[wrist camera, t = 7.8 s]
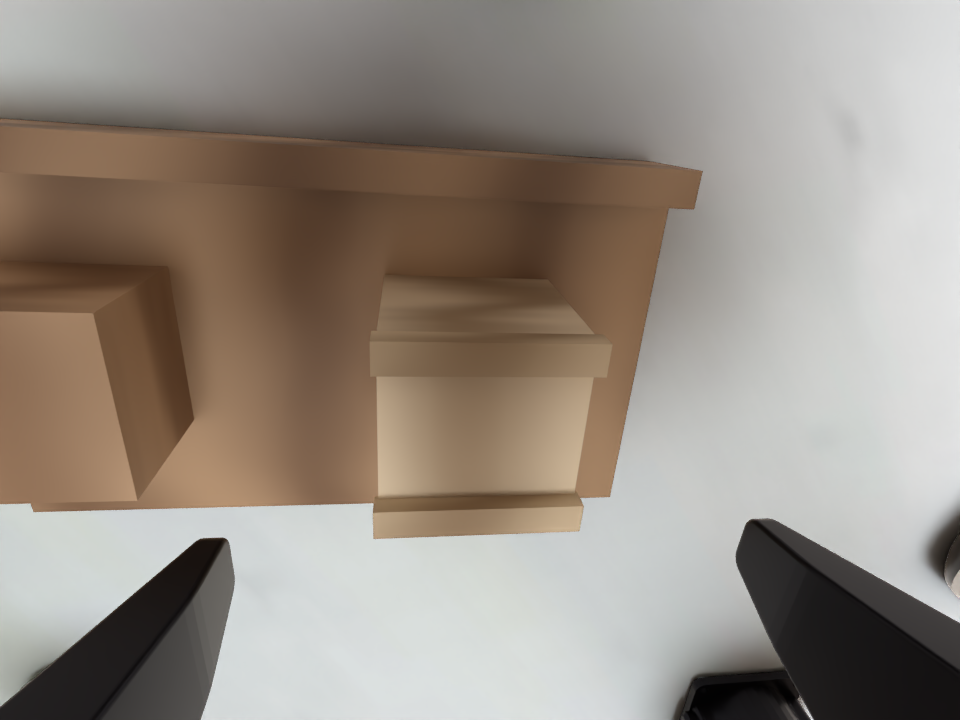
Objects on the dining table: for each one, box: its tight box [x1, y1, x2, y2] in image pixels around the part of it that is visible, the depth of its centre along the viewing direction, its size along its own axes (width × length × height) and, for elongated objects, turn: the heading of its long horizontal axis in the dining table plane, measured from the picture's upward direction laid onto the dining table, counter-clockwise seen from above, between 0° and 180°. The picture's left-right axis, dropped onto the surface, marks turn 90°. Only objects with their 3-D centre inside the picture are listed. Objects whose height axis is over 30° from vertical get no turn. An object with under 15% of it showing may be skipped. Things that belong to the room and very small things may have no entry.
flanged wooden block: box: [370, 275, 613, 539], centre depth 15 cm, size 5×5×6 cm
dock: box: [0, 118, 703, 512], centre depth 17 cm, size 20×12×4 cm, turn 86°
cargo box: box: [0, 261, 194, 504], centre depth 14 cm, size 5×5×4 cm
